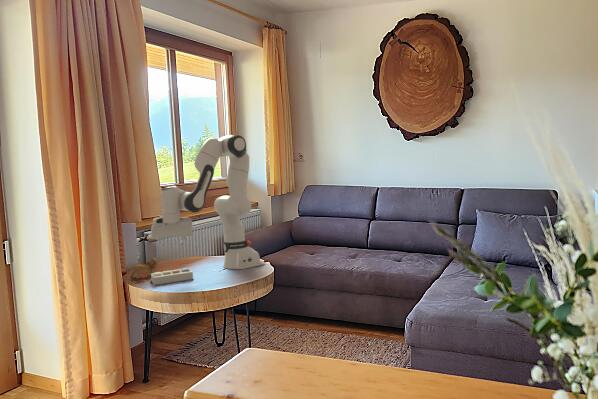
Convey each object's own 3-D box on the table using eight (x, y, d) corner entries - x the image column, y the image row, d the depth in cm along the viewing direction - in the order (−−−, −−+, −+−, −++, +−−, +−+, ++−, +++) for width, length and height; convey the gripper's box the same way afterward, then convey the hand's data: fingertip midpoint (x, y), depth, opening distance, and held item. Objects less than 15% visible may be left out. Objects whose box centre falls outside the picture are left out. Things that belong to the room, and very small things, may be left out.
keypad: (188, 275, 268) (187, 267, 267) (193, 280, 257) (192, 272, 256) (151, 280, 260) (150, 273, 260) (154, 286, 249) (154, 278, 249)
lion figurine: (157, 273, 277) (155, 256, 276) (159, 275, 272) (158, 258, 271) (129, 277, 270) (127, 261, 269) (131, 279, 265) (129, 262, 264)
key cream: (160, 277, 258) (160, 271, 257) (161, 278, 255) (161, 273, 254) (154, 278, 256) (153, 272, 256) (155, 279, 253) (154, 274, 253)
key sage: (169, 276, 259) (169, 270, 259) (171, 277, 257) (170, 271, 256) (163, 277, 258) (162, 271, 258) (164, 278, 255) (164, 272, 255)
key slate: (187, 273, 263) (187, 267, 263) (189, 274, 260) (188, 268, 260) (181, 274, 262) (181, 268, 262) (183, 275, 259) (182, 269, 259)
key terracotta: (178, 274, 261) (178, 269, 261) (180, 275, 258) (179, 270, 258) (172, 275, 260) (172, 270, 260) (173, 276, 257) (173, 271, 257)
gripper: (191, 216, 263) (192, 243, 264) (149, 219, 256) (151, 246, 257) (192, 217, 257) (194, 245, 259) (150, 220, 250) (152, 248, 252)
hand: (172, 245), depth 258 cm, fingers open, 8 cm apart
